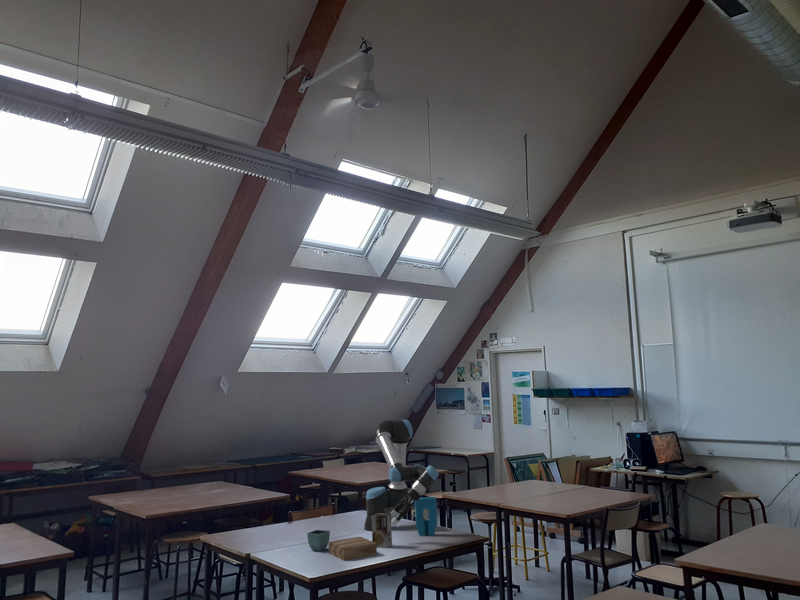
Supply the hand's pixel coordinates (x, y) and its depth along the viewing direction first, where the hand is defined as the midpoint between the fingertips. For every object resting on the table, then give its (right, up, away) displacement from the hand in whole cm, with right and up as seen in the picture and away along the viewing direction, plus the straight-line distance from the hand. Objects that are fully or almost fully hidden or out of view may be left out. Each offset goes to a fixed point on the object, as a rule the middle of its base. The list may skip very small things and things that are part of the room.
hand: (390, 522), depth 312 cm
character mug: (+18, -18, +35) cm, 43 cm away
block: (+20, -15, +21) cm, 33 cm away
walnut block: (-19, -10, -16) cm, 27 cm away
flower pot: (-37, -12, -5) cm, 39 cm away
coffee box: (-4, -12, -2) cm, 13 cm away
